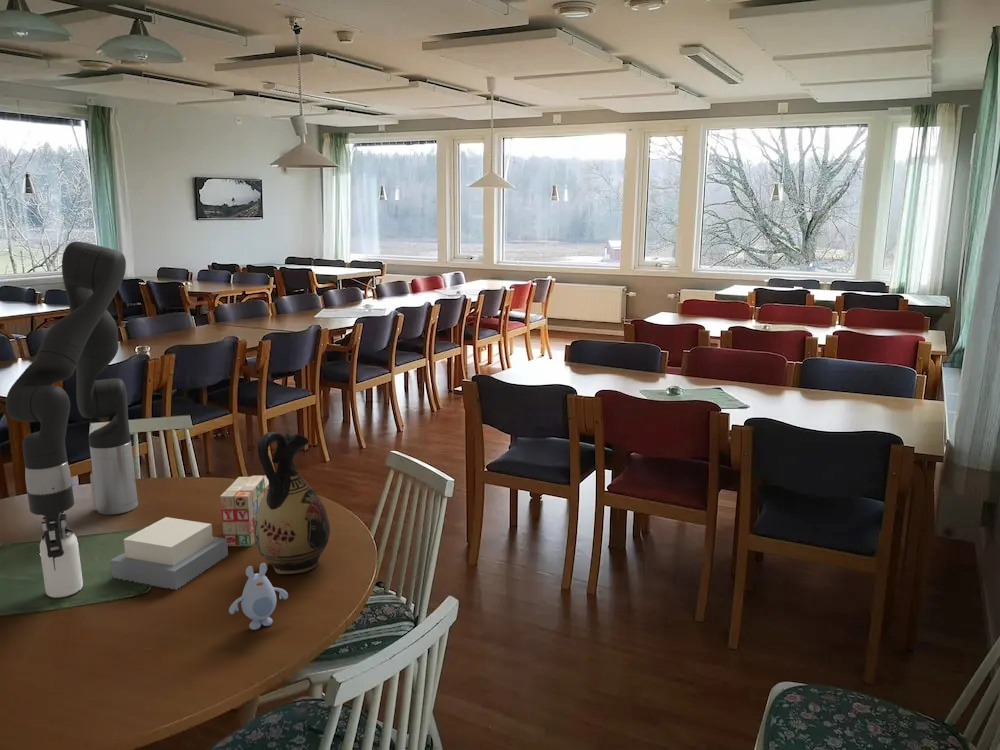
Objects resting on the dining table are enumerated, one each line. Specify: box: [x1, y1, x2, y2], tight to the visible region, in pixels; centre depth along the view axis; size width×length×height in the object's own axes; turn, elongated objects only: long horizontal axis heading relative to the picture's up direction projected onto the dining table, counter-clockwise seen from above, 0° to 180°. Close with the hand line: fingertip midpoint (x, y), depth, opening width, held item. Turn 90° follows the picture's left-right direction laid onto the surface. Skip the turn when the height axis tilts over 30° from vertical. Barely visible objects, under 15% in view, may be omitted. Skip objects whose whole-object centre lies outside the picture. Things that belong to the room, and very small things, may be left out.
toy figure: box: [228, 562, 289, 631], centre depth 138 cm, size 11×6×12 cm, turn 123°
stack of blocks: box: [219, 474, 269, 546], centre depth 181 cm, size 21×6×12 cm, turn 179°
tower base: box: [110, 516, 229, 591], centre depth 162 cm, size 16×16×8 cm
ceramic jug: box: [254, 431, 331, 575], centre depth 159 cm, size 17×15×30 cm
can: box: [39, 528, 84, 599], centre depth 151 cm, size 6×6×12 cm
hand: (60, 566), depth 152 cm, fingers open, 5 cm apart
